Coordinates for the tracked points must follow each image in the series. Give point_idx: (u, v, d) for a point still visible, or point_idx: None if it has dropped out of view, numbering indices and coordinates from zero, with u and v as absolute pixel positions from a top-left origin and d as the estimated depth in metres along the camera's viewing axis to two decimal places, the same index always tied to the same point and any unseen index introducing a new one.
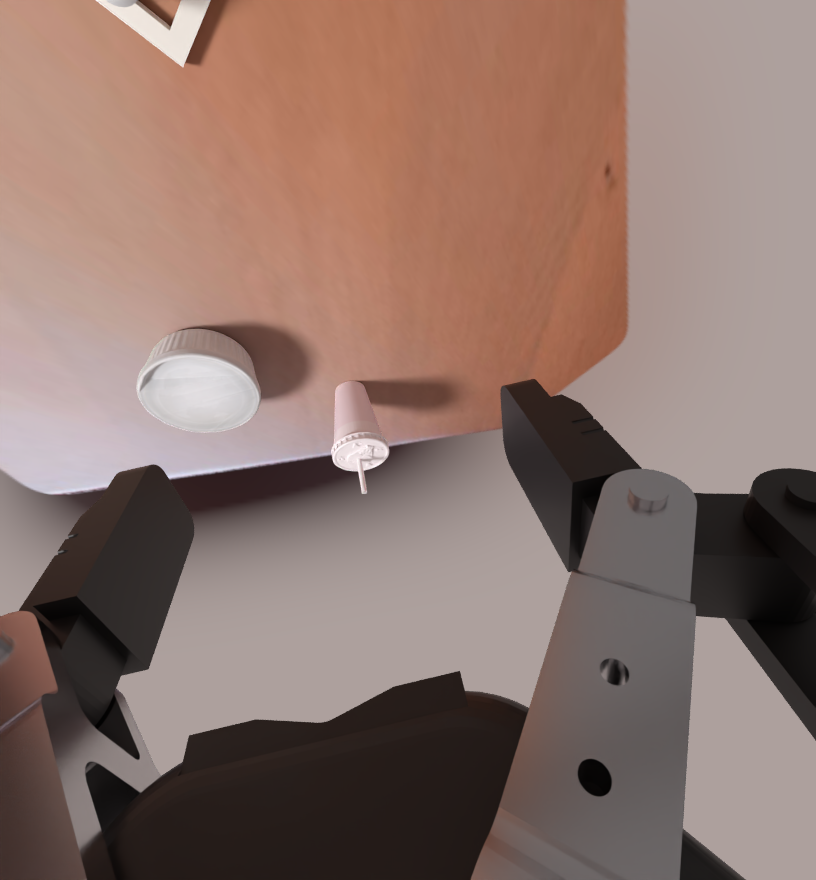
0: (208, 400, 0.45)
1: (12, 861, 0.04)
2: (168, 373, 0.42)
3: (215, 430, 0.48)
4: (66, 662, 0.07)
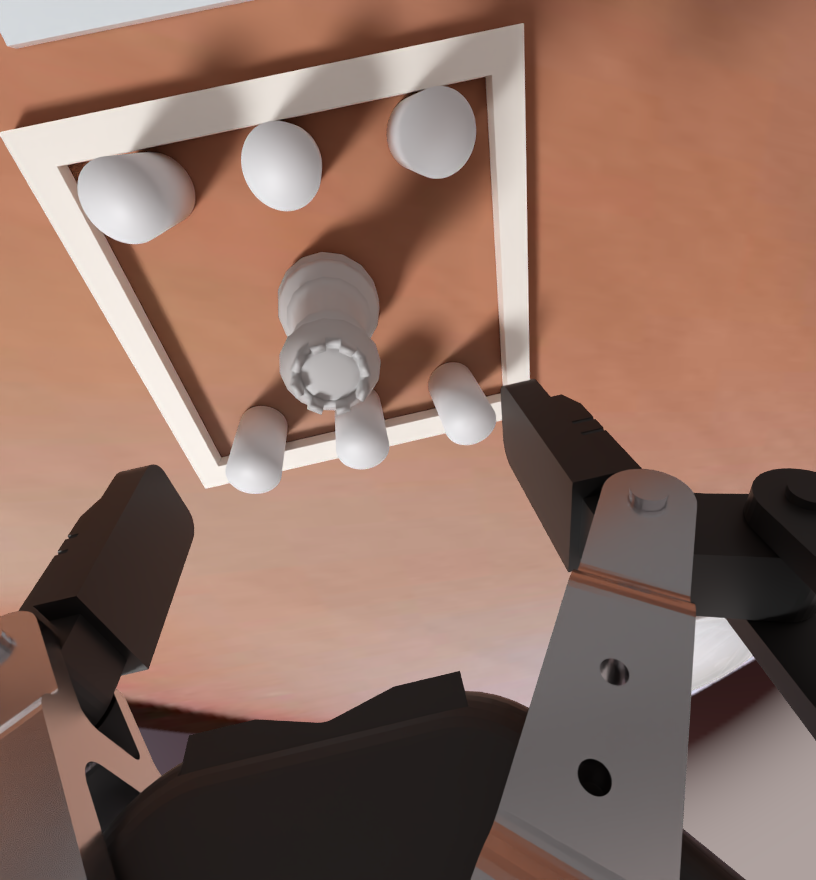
0: (701, 657, 0.35)
1: (12, 861, 0.04)
2: None
3: (720, 676, 0.37)
4: (66, 662, 0.07)
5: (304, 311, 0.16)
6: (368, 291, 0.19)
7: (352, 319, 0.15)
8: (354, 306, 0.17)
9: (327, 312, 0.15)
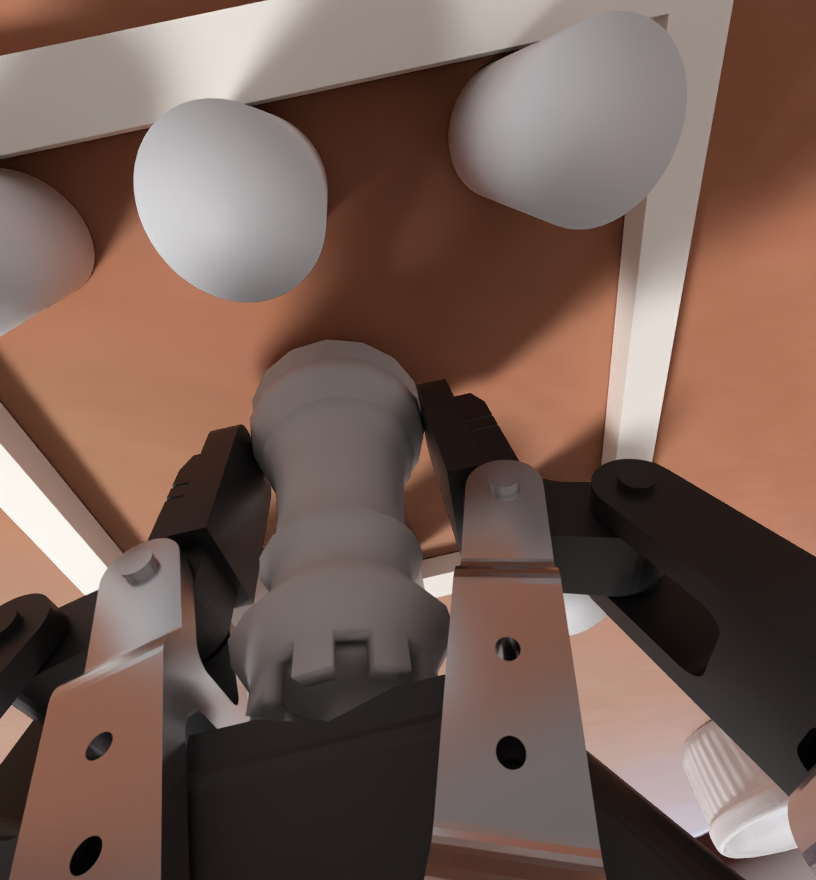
0: None
1: (111, 798, 0.04)
2: None
3: None
4: (201, 584, 0.07)
5: (292, 480, 0.08)
6: (408, 411, 0.10)
7: (390, 521, 0.07)
8: (387, 456, 0.09)
9: (337, 513, 0.07)
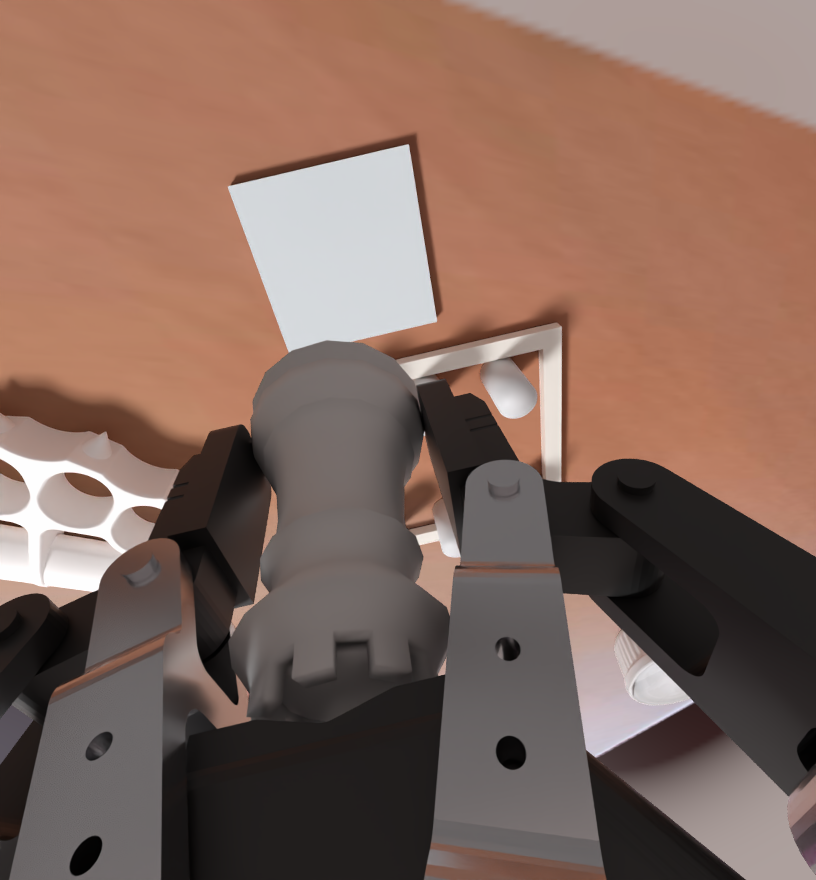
0: None
1: (111, 797, 0.04)
2: (646, 673, 0.46)
3: None
4: (200, 584, 0.07)
5: (292, 480, 0.08)
6: (409, 412, 0.11)
7: (390, 522, 0.07)
8: (387, 457, 0.09)
9: (338, 514, 0.07)
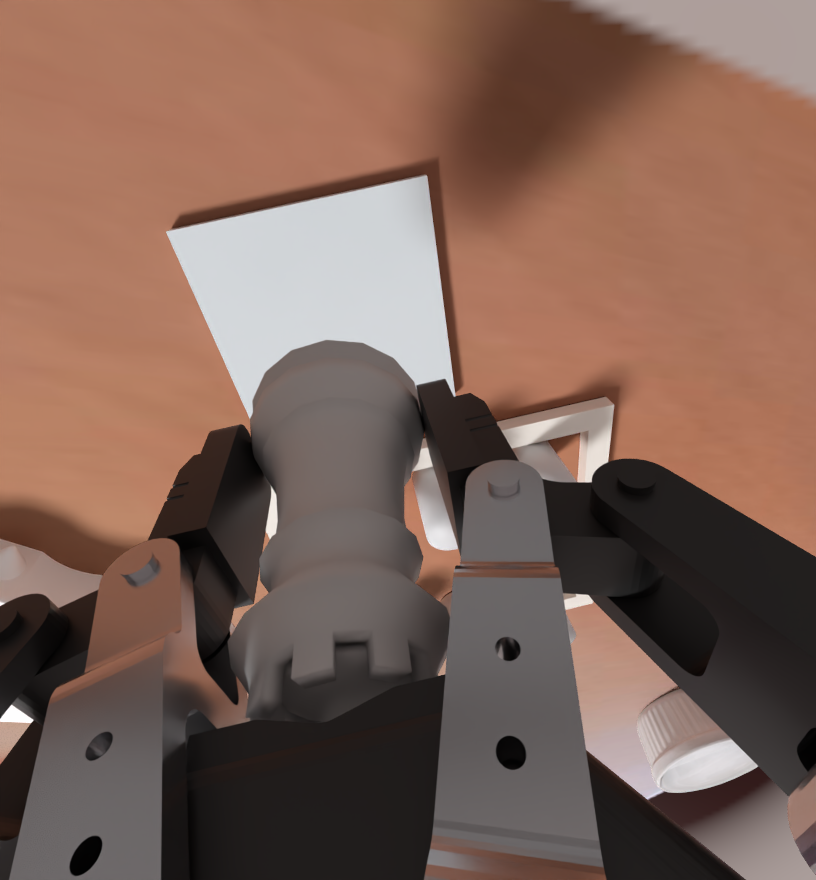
0: (723, 765, 0.41)
1: (110, 797, 0.04)
2: (676, 763, 0.40)
3: (739, 775, 0.43)
4: (201, 584, 0.07)
5: (292, 480, 0.08)
6: (408, 411, 0.10)
7: (390, 522, 0.07)
8: (387, 456, 0.09)
9: (337, 514, 0.07)
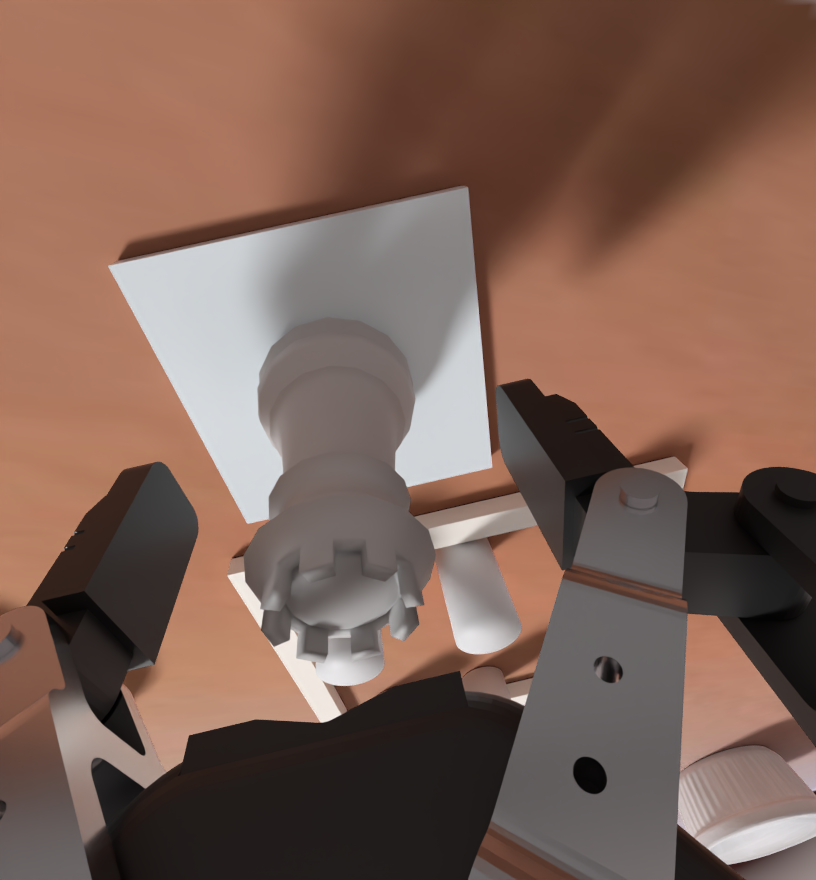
0: (773, 839, 0.36)
1: (18, 856, 0.04)
2: None
3: None
4: (74, 656, 0.07)
5: (296, 435, 0.10)
6: (400, 382, 0.12)
7: (382, 465, 0.08)
8: (380, 418, 0.10)
9: (336, 456, 0.08)
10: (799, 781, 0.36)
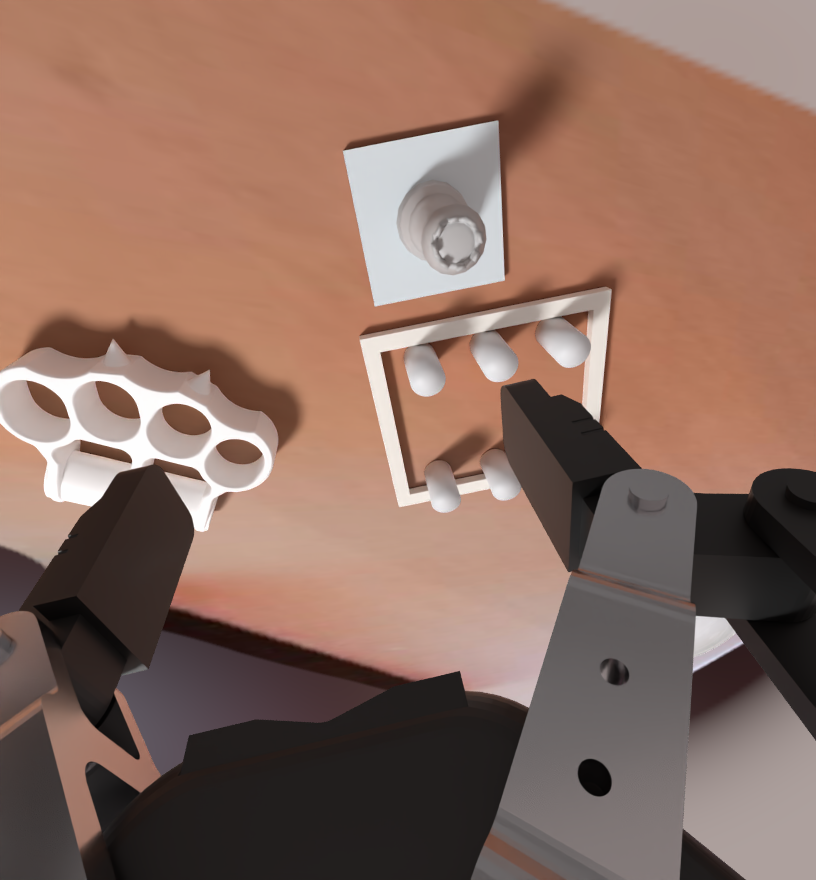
0: (699, 631, 0.50)
1: (12, 861, 0.04)
2: None
3: (714, 647, 0.52)
4: (66, 662, 0.07)
5: (429, 212, 0.24)
6: None
7: None
8: None
9: None
10: None
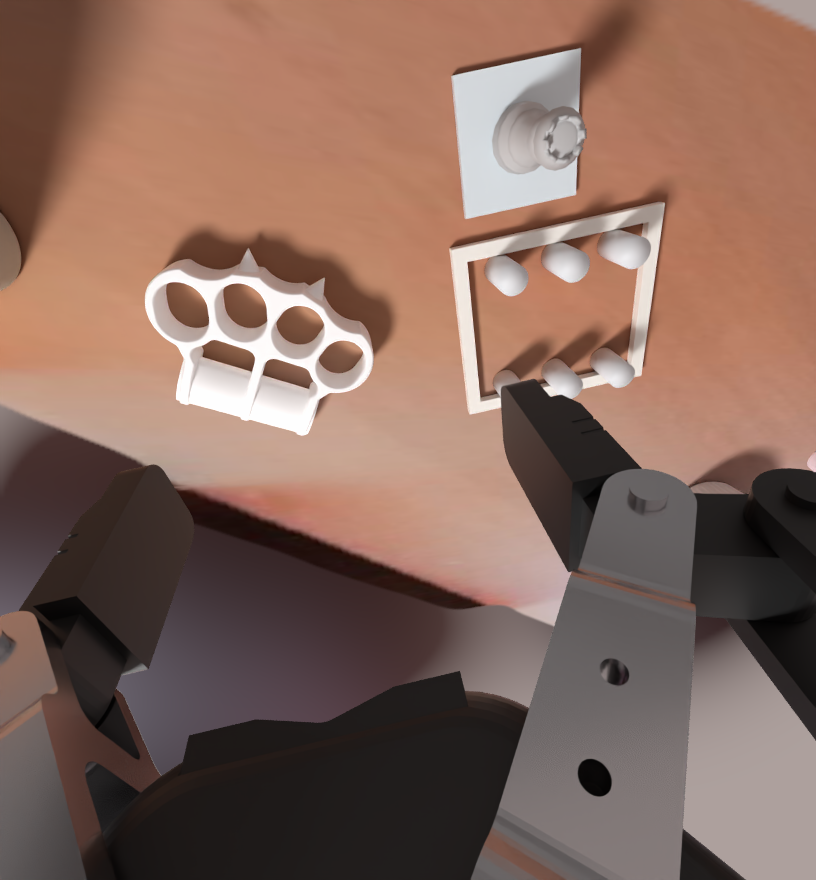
0: None
1: (12, 861, 0.04)
2: None
3: None
4: (66, 661, 0.07)
5: (531, 121, 0.29)
6: None
7: None
8: None
9: None
10: None
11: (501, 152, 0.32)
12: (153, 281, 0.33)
